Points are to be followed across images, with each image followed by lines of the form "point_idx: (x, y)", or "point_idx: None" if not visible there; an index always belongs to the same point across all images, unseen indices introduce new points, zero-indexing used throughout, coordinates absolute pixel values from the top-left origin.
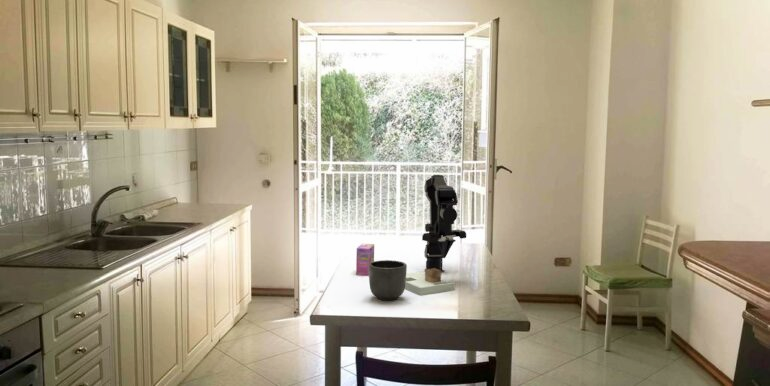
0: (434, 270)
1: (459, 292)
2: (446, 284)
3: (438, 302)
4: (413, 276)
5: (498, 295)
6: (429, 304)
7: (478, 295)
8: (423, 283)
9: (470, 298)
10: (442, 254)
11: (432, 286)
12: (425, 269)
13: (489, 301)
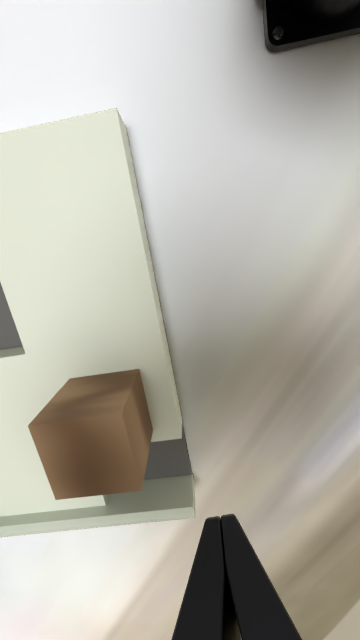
0: (92, 476)
1: (196, 516)
2: (141, 521)
3: (54, 590)
4: (22, 254)
5: (325, 590)
6: (14, 597)
7: None
8: None
9: None
10: (200, 561)
11: (54, 530)
12: (29, 429)
13: None
